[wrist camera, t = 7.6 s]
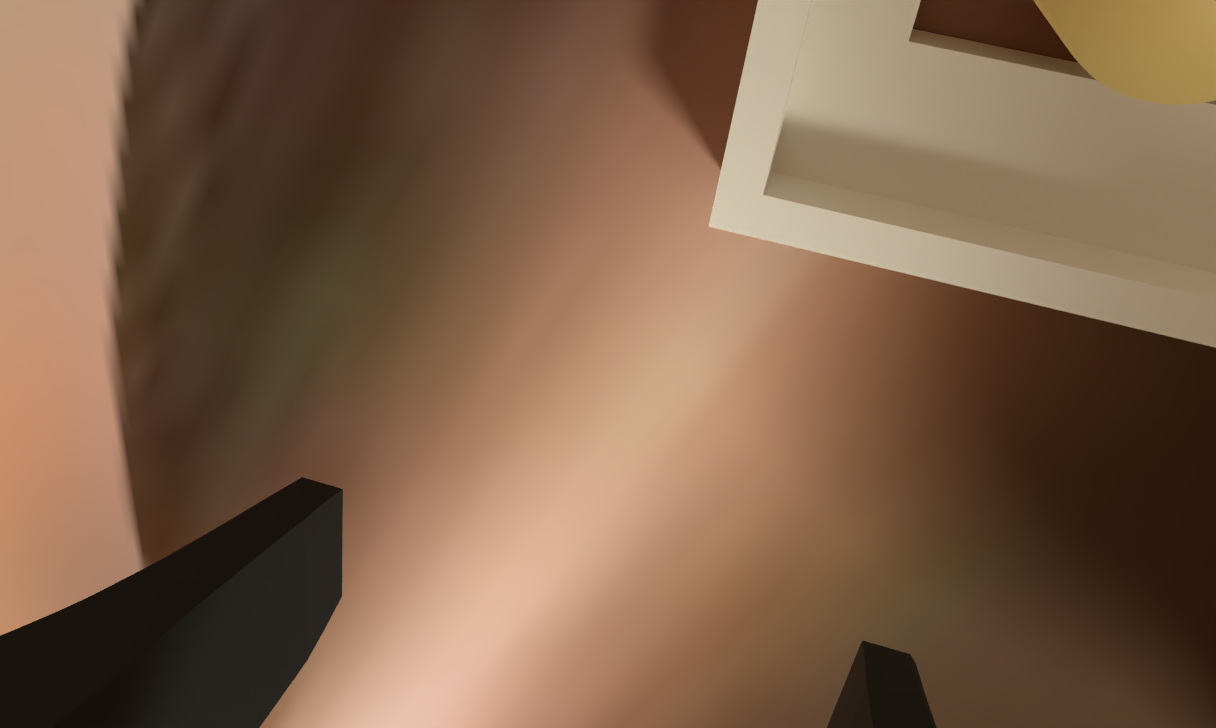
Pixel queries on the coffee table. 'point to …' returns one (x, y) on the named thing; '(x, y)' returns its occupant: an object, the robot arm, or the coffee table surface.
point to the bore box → (971, 167)
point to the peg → (1142, 45)
